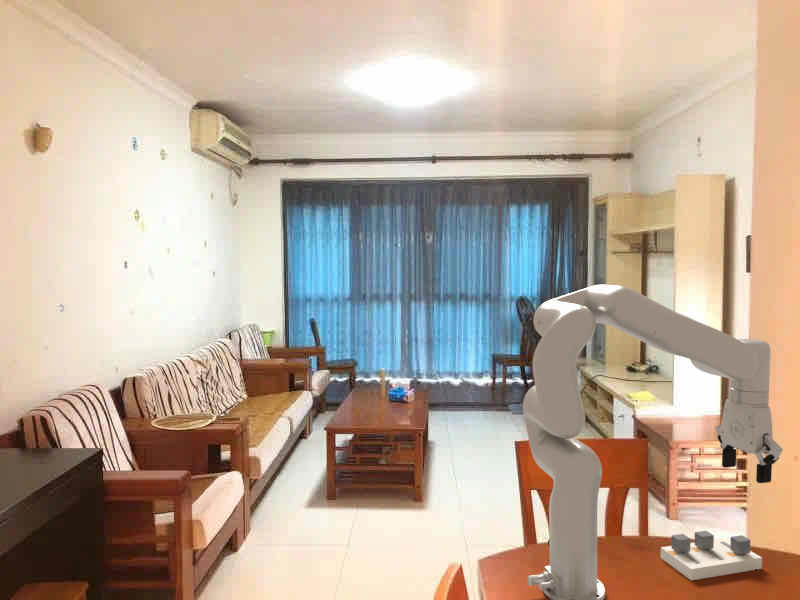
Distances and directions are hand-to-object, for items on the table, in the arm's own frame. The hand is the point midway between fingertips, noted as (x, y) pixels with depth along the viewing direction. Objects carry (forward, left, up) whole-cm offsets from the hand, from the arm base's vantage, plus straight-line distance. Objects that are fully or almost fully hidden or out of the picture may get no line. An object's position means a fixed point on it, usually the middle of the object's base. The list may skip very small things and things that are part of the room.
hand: (745, 474), depth 132 cm
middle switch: (-5, +6, -18) cm, 20 cm away
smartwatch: (-35, +17, -21) cm, 45 cm away
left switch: (-11, +6, -18) cm, 22 cm away
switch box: (-5, +4, -21) cm, 22 cm away
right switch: (+1, +2, -18) cm, 18 cm away
